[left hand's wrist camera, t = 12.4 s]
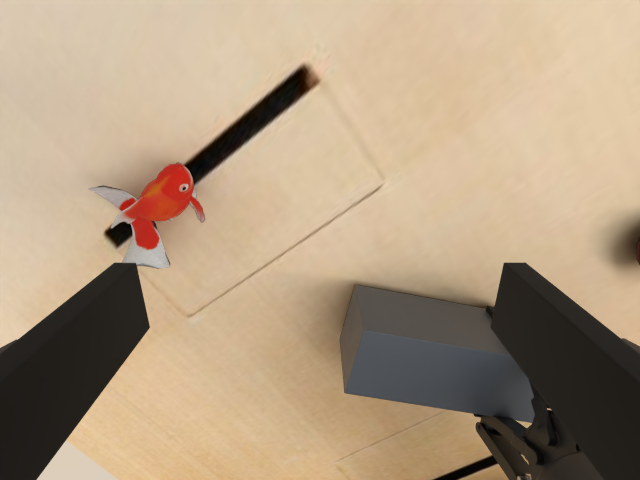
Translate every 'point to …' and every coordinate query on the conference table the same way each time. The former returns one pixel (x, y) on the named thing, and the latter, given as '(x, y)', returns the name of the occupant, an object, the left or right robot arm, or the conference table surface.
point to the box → (430, 355)
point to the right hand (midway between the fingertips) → (482, 339)
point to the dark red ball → (638, 252)
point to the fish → (153, 212)
